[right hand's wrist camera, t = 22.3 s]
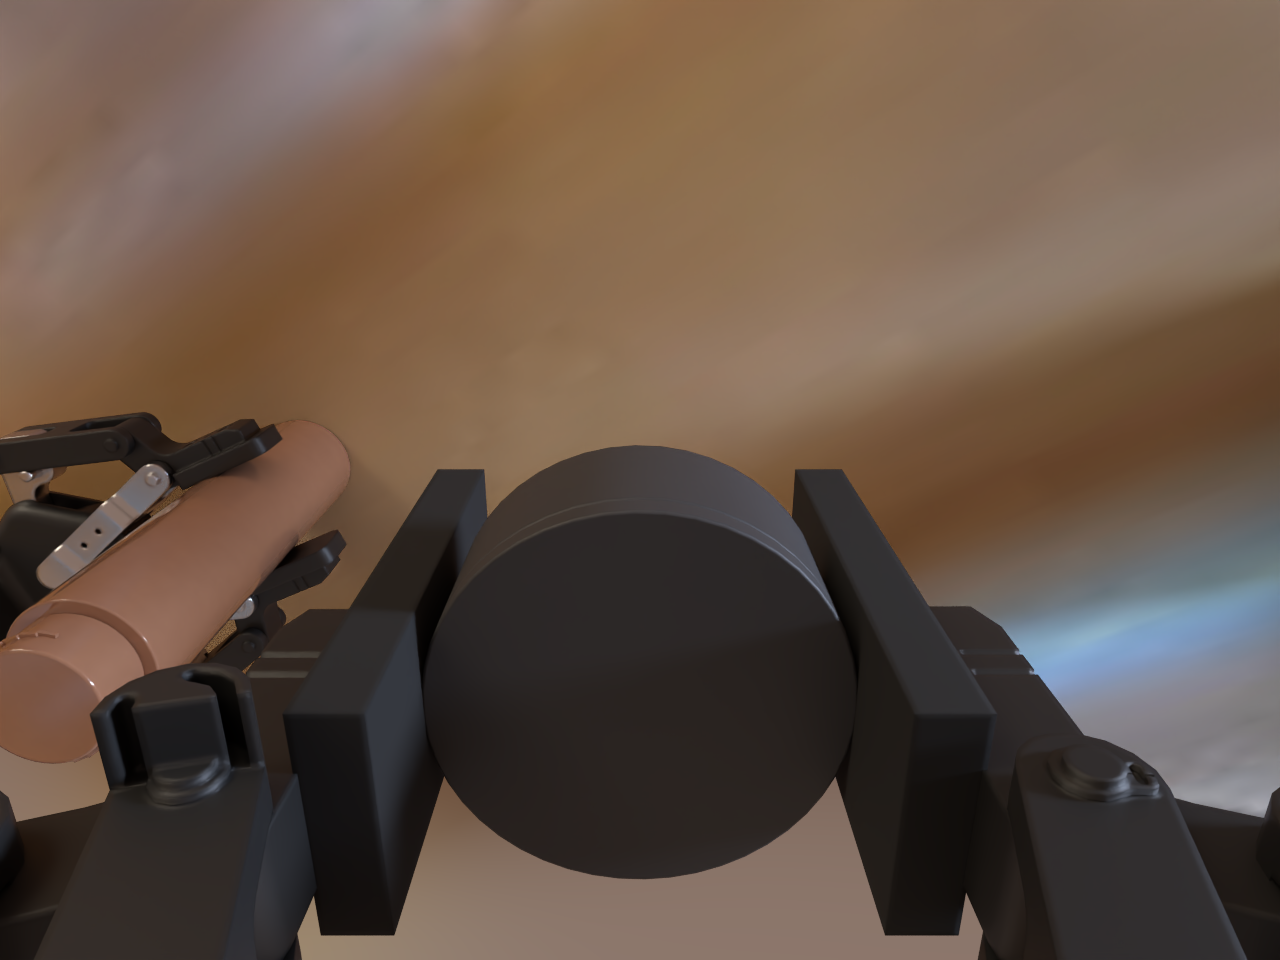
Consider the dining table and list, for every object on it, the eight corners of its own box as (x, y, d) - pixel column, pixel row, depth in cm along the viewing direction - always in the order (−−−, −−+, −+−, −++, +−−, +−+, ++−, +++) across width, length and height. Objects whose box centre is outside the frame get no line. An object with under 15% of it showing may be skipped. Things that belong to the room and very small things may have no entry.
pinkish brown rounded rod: (241, 471, 41) (-75, 720, 23) (287, 401, 40) (-9, 606, 22) (320, 523, 42) (76, 802, 24) (368, 456, 41) (148, 697, 23)
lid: (854, 464, 11) (901, 535, 9) (788, 778, 13) (816, 896, 11) (464, 425, 11) (424, 487, 9) (453, 748, 13) (416, 863, 11)
